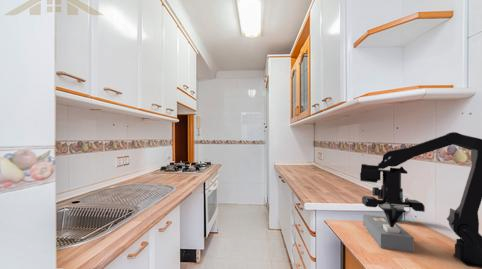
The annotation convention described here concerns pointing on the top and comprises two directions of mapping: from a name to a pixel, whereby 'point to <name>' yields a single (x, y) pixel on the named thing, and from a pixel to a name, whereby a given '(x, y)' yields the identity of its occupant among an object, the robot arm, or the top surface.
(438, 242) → the top surface
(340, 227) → the top surface
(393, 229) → the white peg
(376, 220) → the birch peg
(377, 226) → the collar block
